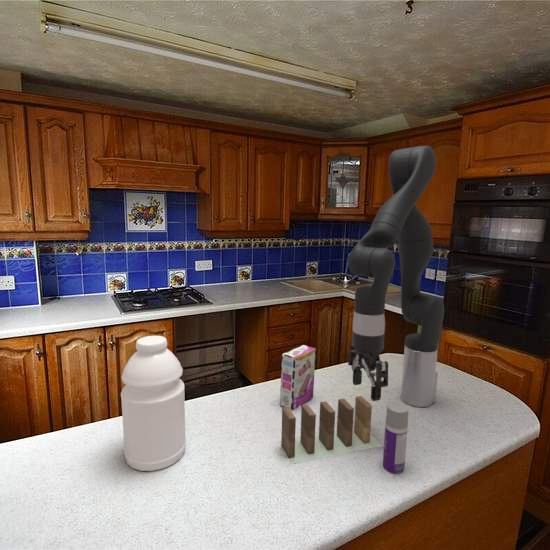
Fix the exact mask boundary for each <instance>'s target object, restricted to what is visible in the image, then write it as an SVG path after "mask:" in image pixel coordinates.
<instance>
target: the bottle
mask: <svg viewBox="0 0 550 550" xmlns="http://www.w3.org/2000/svg"><path fill="white" fill-rule="evenodd" d="M135 349H136V351H135V352H133V354H132V356H130V358H129V359H128V360H127V363H126V365H125V366H124V369H123V370H122V371H123V372H122V375H121V381H122V383H123V384H124V385H125V386H123V388H122V389H121V392H120V398H121V413H122V431H123V446H124V447H123V448H124V449H123V453H124V458H125V461H126V464H127V465H128V466H129V467H130V468H132V469H134V470H137V471H141V472H142V471H143V472H144V471H145V472H153V471H158V470H162V469H165V468H168V467H169V466H172V465H174V464H175V463H176V462H178V461H179V460H181V458H182V457H183V455H184V454H185V452H186V442H187V439H186V411H185V410H186V408H185V389H186V387H185V383H184V381H183V380H182V379H181V377H182V376H183V370H184V368H183V367H182V365H181V362H180V361H179V359H178V358H177V356H175V354H174V353H173V352H172V351H171V350H170V349H168V339H167V338H166V337H165V336H163V335H147V336H142V337H140V338H138V339H137V341H136V342H135Z"/></svg>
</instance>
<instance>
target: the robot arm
mask: <svg viewBox="0 0 550 550" xmlns="http://www.w3.org/2000/svg"><path fill="white" fill-rule="evenodd" d="M436 167H437V156H436V152H435V150H434V148H432V147H431V146H430V145H429V146H428V145H417V146H414V147H413V146H412V147H406V148H401V149H400V148H399V149H396V150H394V151H392V152H391V154H390V155H389V158H388V177H389V183H390V188H391V193H392V196H391V197H390V198H389V199H388V200H386V201H385V202H384V204H382V205H381V207H380V208H379V209H378V210H377V213H376V215H375V217H374V219H373V221H372V223H371V226H370V228H369V230H368V231H366V233H365V234H364V235H363V236H362V238H361V239H359V240H358V242H357V243H356V244H355V246H354V247H353V248H352V249H351V251H350V254H349V256H348V260H347V263H348V264H347V265H348V268H349V271H350V272H351V273H352V275H355V276H359V277H366V278H373V282H372V284H371V285H363V286H359V287H357V288H355V292H354V312H353V318H352V340H351V343H349V345H348V357H347V359H348V360H347V365H348V366H351V370H352V384H353V385H354V386H358V385H362V380H363V379H362V377H363V371H365V373H366V376H367V377H368V378H369V381H370V384H371V386H370V387H371V389H370V400H371V401H372V402H376V401H380V400H381V397H382V388H385V387H388V386H389V362H388V361H387V360H385V361H382V360H381V358H380V357H381V356H380V354H381V352H382V351H383V350H384V349H385V332H386V319H385V318H386V317H385V310H386V309H385V308H386V296H387V295H386V294H387V291H388V289H389V288H388V287H389V284H390V281H391V279H392V276H393V274H394V270H395V267H396V258H395V255H394V253H393V251H391V250H390V249H389V248H391V247H393V246H394V245H396V244H397V245H398V248H397V249H398V254H399V263H400V275H401V276H400V278H401V279H400V280H401V283H400V284H401V285H400V286H401V288H400V290H401V292H400V295H401V296H400V298H401V299H400V301H401V302H400V303H401V304H400V305H401V308H400V309H401V314H402V317H403V319H404V320H405V321H406V322H408V323H410V324H415V325H418V326H421V329H420V332H417V333H410V334H407V335H406V337H405V338H404V339H405V340H404V352H403V364H402V377H401V390H400V400H402V401H403V402H404V403H406V404H408V405H410V406H413V407H416V408H417V407H419V408H427V407H430V406H432V405H433V403H436V398H437V388H438V387H437V385H438V377H439V375H438V372H437V371H436V368H437V357H438V356H437V355H438V349H439V348H438V347H439V343H440V341H441V335H442V330H443V329H442V328H443V323H444V322H443V321H444V316H445V305H444V302H443V300H442V299H441V298H439V297H436V296H432V295H428V294H424V293H422V292H421V289H420V287H421V285H420V282H421V276H422V274H423V272H424V270H426V268H427V265H428V264H429V263H430V261H431V258H432V257H433V253H434V239H433V231H432V227H431V225H430V223H429V221H428V220H427V219H426V217H425V216H424V214H423V212H422V211H420V209H419V208H418V207H417V205H416V203H417V202H418V200H419V199H420V197H422V194H423V192H424V191H425V190H426V189H427V186H428V185H429V184H430V182H431V181H432V179H433V177H434V174H435V171H436ZM353 358H354V359H353ZM362 369H363V371H362ZM374 371H375V372H374Z"/></svg>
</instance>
